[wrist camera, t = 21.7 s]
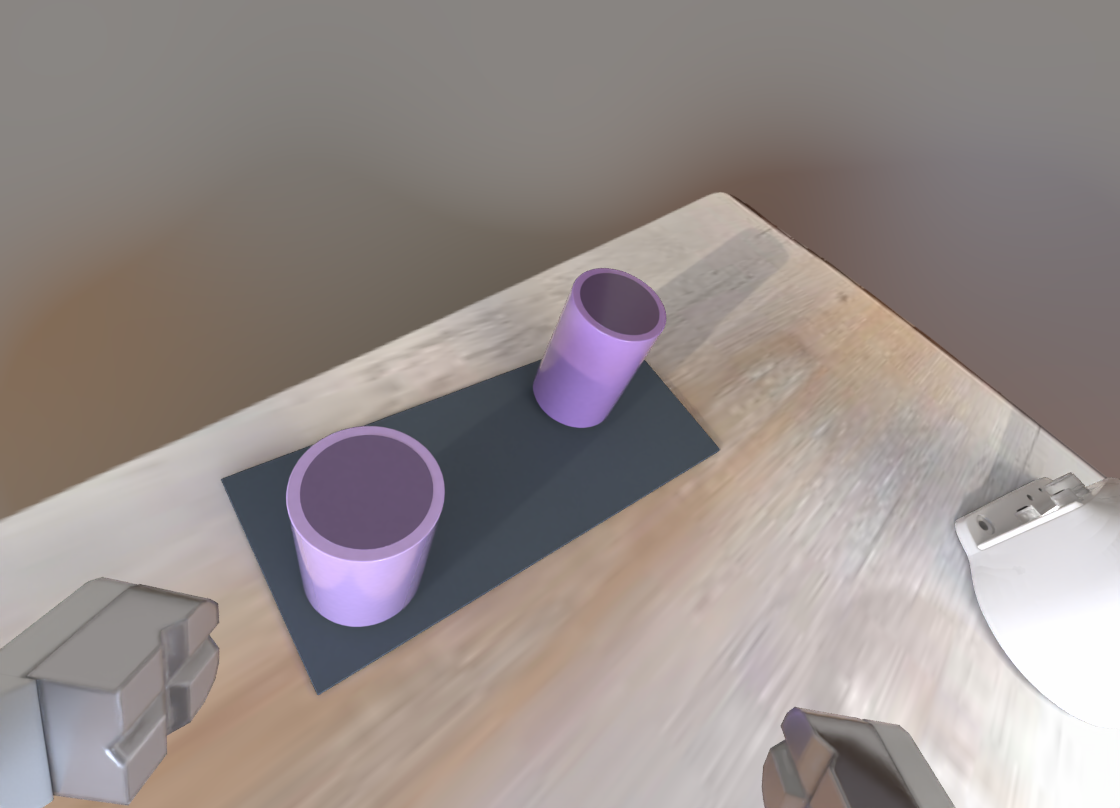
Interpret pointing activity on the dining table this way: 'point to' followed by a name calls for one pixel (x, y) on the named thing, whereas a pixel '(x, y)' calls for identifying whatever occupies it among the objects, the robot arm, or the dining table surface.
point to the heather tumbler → (597, 346)
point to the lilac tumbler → (364, 522)
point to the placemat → (480, 501)
